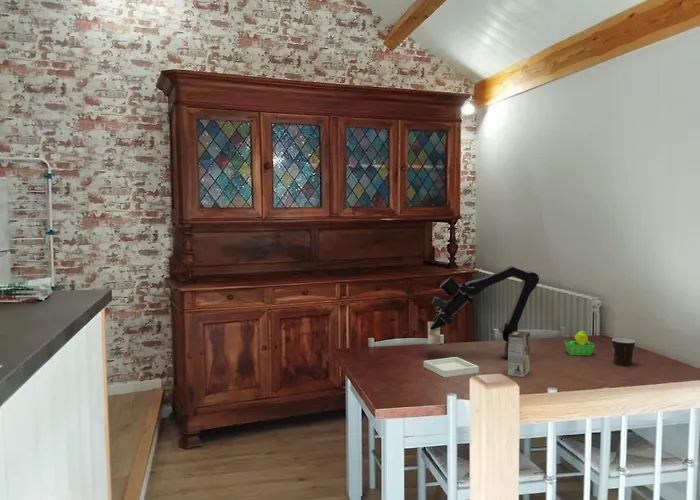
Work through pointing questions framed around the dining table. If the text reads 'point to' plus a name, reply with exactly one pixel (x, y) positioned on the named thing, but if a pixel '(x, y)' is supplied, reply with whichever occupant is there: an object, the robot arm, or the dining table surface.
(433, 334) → the birch block
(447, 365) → the tray
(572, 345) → the fruit basket
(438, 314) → the robot arm
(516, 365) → the coffee box
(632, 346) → the coffee mug
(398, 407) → the dining table surface
